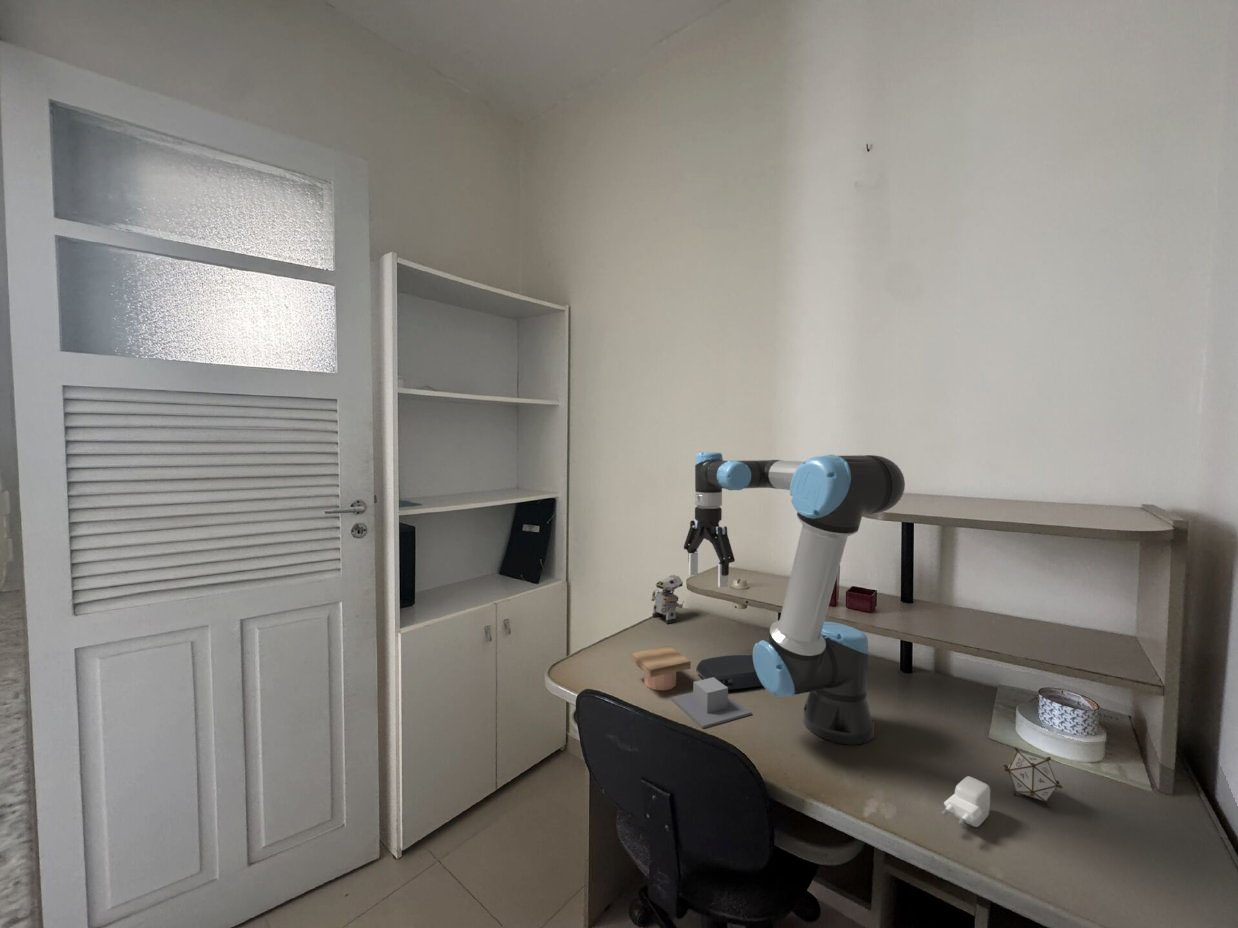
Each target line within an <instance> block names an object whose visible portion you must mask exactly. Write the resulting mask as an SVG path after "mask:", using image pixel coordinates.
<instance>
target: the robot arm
mask: <svg viewBox="0 0 1238 928" xmlns="http://www.w3.org/2000/svg"><path fill="white" fill-rule="evenodd" d="M694 486H695V487H694V488H695V492H694V493H695V497H694V498H695V501H694V505H696V506H695V507H694V520H693V519H692V520H690V524H689V529H688V533H687V536H686V538H685V541H684V544H683V549H684V550H686V551H687V553H688V559H687V560H688V576H697V575H698V573H699V572H698V571H699V569H698V568H699V553H698V552H699V551H698V549H699V547H700V545H701V544H702V543H703V541H704V540H706V541H709V542H710V543H711V544H712V547H713V549H714V551H715V553H716V556H717V558H718V559H719V562H718V564H717V565H718V571H717V572H718V573H717V587H718V588H724V587H728V579H729V577H728V576H729V573H730V570H729V569H730V564H732V563H735V556H734V553H733V549H732V545H731V542H730V538H729V535H728V527H727V526H725V525H724V526H720V524H719V523H720V522H721V521H722V518H723V515H722V514H723V513H722V511H723V510H722V509H723V508H722V507H721V506H723V489H724V490H727V491H742V490H745V489H767V488H768V489H773V490H774V489H775V490H786V491H789V496H790V497H791V496H792V497H791V499H790V501H791V502H790V503H791V504H792V506H793V508H794V510H795V511H796V512H797V513H796V517H797V519H798V520H799V522H800V523H801V530H800V534H799V538H798V543H797V547H796V551H795V554H794V555H795V556H794V560H793V563H792V567H791V571H790V576H789V580H788V584H787V588H786V592H785V593H786V594H785V596H784V597H785V598H784V600H783V605H782V609H781V614H780V617H779V620H776V621H774V622H773V623H772V624H771V625H770V627H769V632H768V634H767V636H768V637H767V639H766V640H764V639H763V640H760V641H758V642H756V643H755V644H754V646H753V648H752V655H753V663H754V667H755V670H756V673H757V676H758V678H759V680H760V682H761V683H762V685H763V687H764V689H765V690H766V691H767V692H768V693H769V694H770V695H772V696H773V697H778V698H781V697H794V696H796V695H800V694H805V693H808V696H807V698H806V700H805V704H804V706H803V709H802V722H803V724H804V725H805V727H806V728H807V729H808V731H810V732H811V733H813V734H814V735H816V736H818V737H820V738H822V739H824V740H826V741H830V742H832V743H837V744H841V745H842V744H843V745H850V746H851V745H852V746H853V745H863V744H865V743H868V742H870V741H872V740H873V738H874V735H875V722H874V719H873V717H872V715H871V711H870V710H871V709H870V706H869V702H868V699H867V694H868V693H867V692H868V677H869V675H868V674H869V673H868V672H869V654H870V652H869V639H868V637H867V636H866V634H865V633H863V632H862V631H861V630H859V629H858V628H855V627H852V626H849V625H846V624H844V623H843V624H842V623H838V622H832V621H826V616H827V613H828V610H829V607H830V603H831V598H832V594H833V591H834V589H835V585H836V581H837V577H838V573H839V570H840V565H841V561H842V558H843V556H844V555H843V554H844V551H845V547H846V543H847V540H848V537H850V536H853V535H854V534H856V533H858V531H859V529H860V525H861V521H862V519H863V516H864V515H872V514H879V513H883V512H887V511H888V510H890V509H892V508H893V507H895V506H896V505H897V504H898V503H899V501H900V500H901V498H902V497H903V495H904V494H905V493H904V492H905V487H906V482H905V477H904V473H903V472H902V470H901V469H900V468H899V466H898V464H896V463H895V462H894V461H892V460H891V459H889V458H886V457H884V456H881V455H876V454H875V455H874V454H873V455H871V454H870V455H869V454H867V455H866V454H865V455H861V454H859V455H858V454H857V455H835V454H827V455H821V456H820V455H819V456H813V457H810V458H808V459H806V460H804V461H799V460H798V461H797V460H796V461H795V460H783V459H782V460H781V459H766V460H765V459H763V460H761V459H760V460H723V455H722V453H721V452H716V451H715V452H714V451H713V452H709V451H708V452H707V451H706V452H705V451H702V452H697V453H696V454H695V464H694Z"/></svg>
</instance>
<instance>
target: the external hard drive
mask: <svg viewBox="0 0 1238 928" xmlns="http://www.w3.org/2000/svg"><path fill="white" fill-rule="evenodd" d="M695 672H696V673H697V674H698V675H699V676H700V677H701V678H702V680H704V679H708V678H712V677H714V678H715V679H717V680H718V681H719V682H721V683H722V684H723V685H725V686H726V687H728V690H737V689H738V690H739V689H745V688H746V689H748V688H754V687H761V686H763V685H762V683H761V682H760V680H759V678H758V676H757V673H756V670H755V667H754V663H753V654H750V653H749V654H747V653H745V654H744V653H742V654H727V655H719V656H713V657H707V658H704V659H701V660H700V661H699V662H698V663H697V665H696V667H695ZM763 687H764V686H763Z"/></svg>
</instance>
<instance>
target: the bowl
mask: <svg viewBox="0 0 1238 928" xmlns="http://www.w3.org/2000/svg"><path fill="white" fill-rule="evenodd" d="M643 684H644V685H645V686H646V687H648V688H649V689H652V690H654V691H668V690H672V689H673V688H675V687H676V686H677V672H674V673H669V674H665V675H660V676H656V677H651V678H650V677H649V676H648V675H647V674H646V673H645V672H644V683H643Z"/></svg>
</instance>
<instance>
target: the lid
mask: <svg viewBox="0 0 1238 928" xmlns="http://www.w3.org/2000/svg"><path fill="white" fill-rule="evenodd" d="M630 654H631V655H630V658H631V662H632V663H634V664H635V665H636V666H637V667H638V668H639V669H640V670H641V671H642V672H644V674H645V673H646V674H647V675H648V676H649V677H650V678H651V677H656V676H660V675H665V674H669V673H674V672H676V673H678V672H682V671H686V670H687V671H688V670H691V667H692V666H691V665H692V664H691V661H690V660H689V659H688V658H687V657H686V656H684V655H683V654H681V653H680V652H679V651H677V650H676V649H675V648H673V647H672V646H670V645H666V646H661V647H655V648H650V649H647V650H640V651H636V652H632V653H630Z"/></svg>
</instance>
